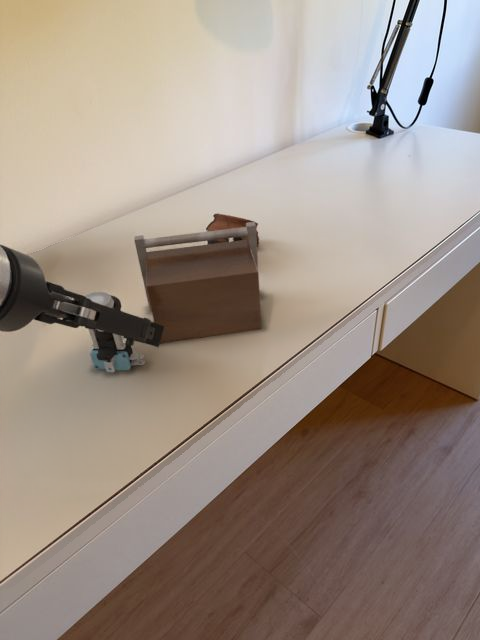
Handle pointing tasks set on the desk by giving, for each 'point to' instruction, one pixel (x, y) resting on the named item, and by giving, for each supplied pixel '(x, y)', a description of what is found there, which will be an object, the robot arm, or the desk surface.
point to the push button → (110, 341)
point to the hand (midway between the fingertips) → (129, 328)
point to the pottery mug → (228, 227)
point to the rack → (202, 283)
